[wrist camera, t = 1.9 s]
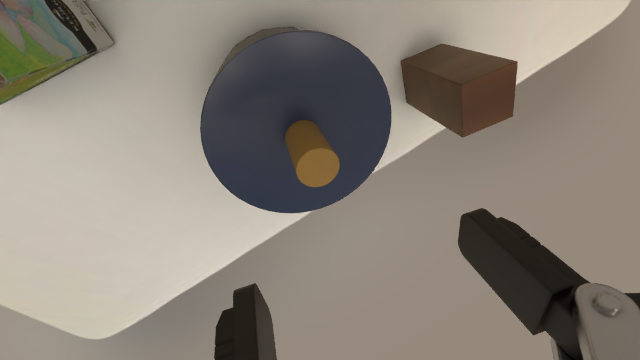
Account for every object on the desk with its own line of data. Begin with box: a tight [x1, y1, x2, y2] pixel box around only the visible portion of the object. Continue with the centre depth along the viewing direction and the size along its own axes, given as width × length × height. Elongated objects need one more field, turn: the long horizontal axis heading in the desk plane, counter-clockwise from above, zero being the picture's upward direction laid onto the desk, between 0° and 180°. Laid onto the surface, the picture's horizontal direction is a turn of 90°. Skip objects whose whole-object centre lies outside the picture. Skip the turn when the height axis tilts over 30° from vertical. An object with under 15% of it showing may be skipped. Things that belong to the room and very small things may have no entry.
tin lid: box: [200, 30, 391, 213], centre depth 19 cm, size 13×13×6 cm
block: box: [401, 44, 518, 137], centre depth 25 cm, size 4×4×9 cm
